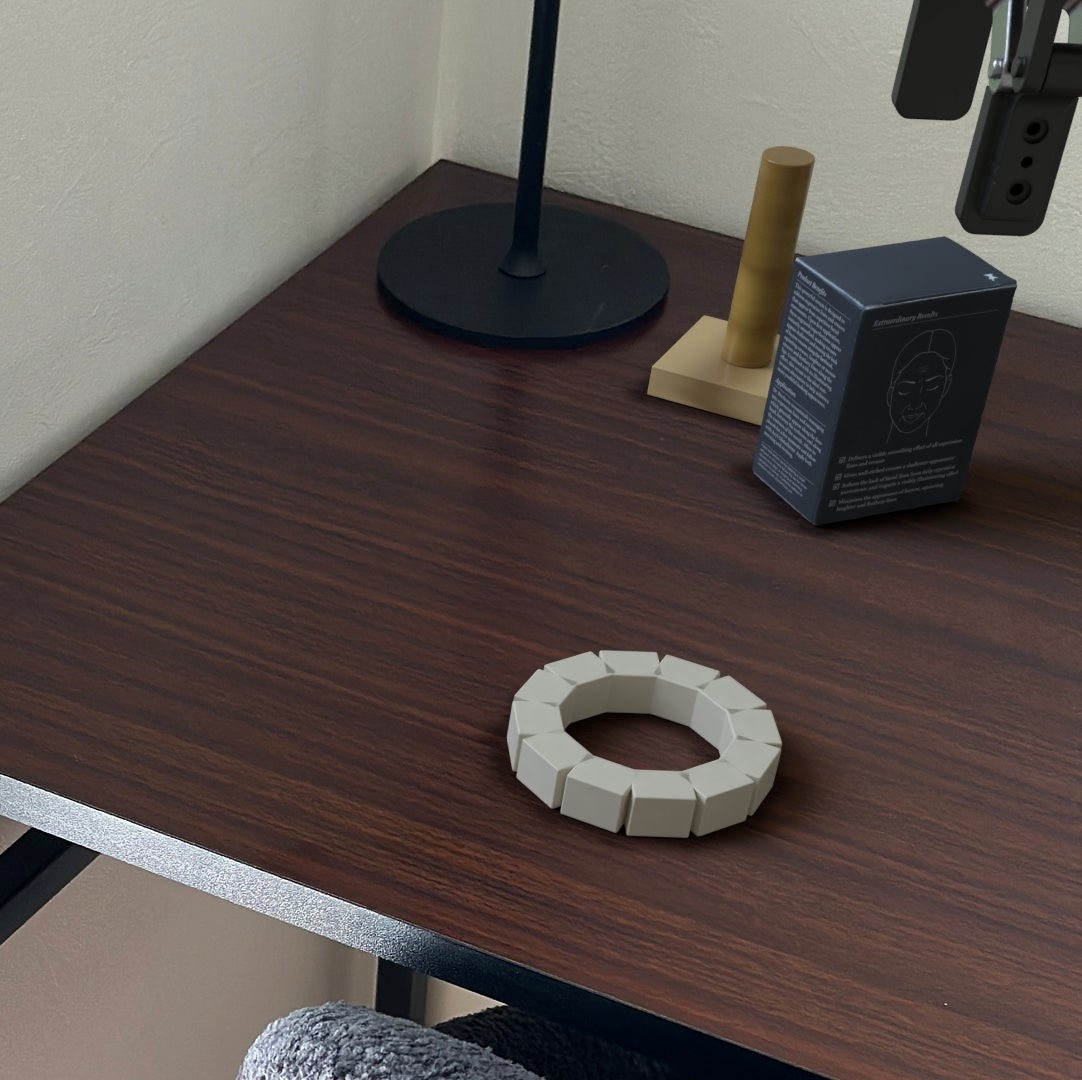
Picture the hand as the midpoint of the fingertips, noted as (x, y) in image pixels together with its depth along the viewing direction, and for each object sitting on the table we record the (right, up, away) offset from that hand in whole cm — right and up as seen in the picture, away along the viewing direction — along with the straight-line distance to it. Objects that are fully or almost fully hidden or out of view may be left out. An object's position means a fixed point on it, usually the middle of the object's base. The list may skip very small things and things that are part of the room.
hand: (959, 169), depth 67 cm
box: (+10, -1, +42) cm, 43 cm away
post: (+7, +6, +49) cm, 50 cm away
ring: (-4, -14, +25) cm, 29 cm away
